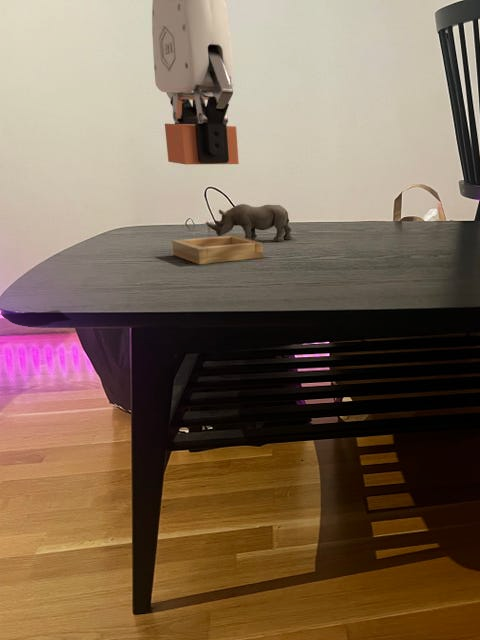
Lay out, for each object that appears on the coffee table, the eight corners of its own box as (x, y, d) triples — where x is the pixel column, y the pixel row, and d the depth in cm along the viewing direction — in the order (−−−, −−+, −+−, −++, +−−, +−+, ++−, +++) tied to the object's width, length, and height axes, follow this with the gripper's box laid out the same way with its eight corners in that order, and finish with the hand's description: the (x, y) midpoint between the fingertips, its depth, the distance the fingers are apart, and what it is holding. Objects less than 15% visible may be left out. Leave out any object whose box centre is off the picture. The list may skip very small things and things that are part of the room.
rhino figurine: (208, 238, 119) (205, 202, 117) (291, 237, 123) (290, 203, 121) (206, 242, 115) (203, 205, 113) (292, 241, 119) (291, 205, 117)
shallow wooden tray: (199, 264, 98) (198, 249, 97) (173, 255, 104) (171, 240, 103) (263, 257, 105) (262, 242, 104) (235, 249, 111) (234, 235, 110)
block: (185, 164, 74) (181, 124, 73) (168, 161, 77) (164, 123, 76) (238, 164, 78) (236, 126, 77) (220, 161, 81) (217, 125, 80)
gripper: (120, -20, 75) (140, 156, 81) (185, -41, 64) (202, 166, 69) (190, -9, 80) (204, 156, 86) (261, -27, 69) (271, 166, 74)
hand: (203, 159), depth 78 cm, fingers closed on block, 4 cm apart
